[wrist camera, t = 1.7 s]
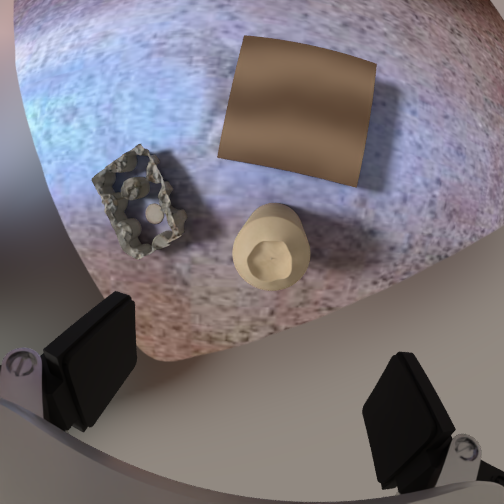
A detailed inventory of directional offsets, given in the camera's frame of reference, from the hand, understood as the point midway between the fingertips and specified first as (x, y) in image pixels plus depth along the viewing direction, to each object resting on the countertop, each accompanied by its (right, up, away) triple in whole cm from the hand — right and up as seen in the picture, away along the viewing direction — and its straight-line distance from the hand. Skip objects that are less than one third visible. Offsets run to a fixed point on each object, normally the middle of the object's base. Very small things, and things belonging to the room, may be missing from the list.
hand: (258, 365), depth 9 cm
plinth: (+4, +17, +15) cm, 23 cm away
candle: (+2, +6, +19) cm, 20 cm away
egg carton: (-12, +9, +20) cm, 25 cm away
